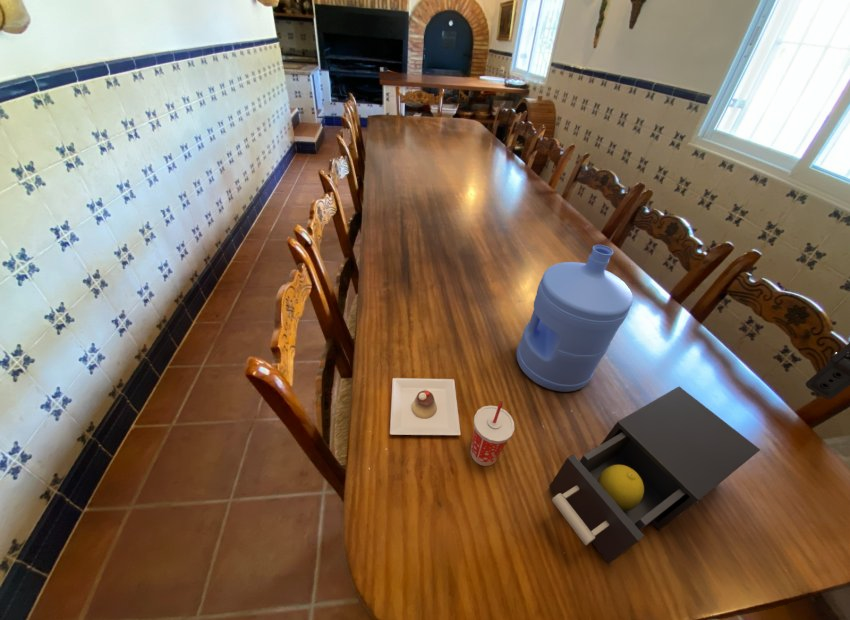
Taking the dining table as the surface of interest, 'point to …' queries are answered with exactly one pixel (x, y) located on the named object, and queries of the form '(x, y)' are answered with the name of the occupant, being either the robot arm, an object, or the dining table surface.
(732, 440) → the dark drawer cabinet
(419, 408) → the dessert
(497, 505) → the dining table surface
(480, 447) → the beverage cup
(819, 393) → the robot arm
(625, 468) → the lemon
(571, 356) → the water jug
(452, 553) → the dining table surface
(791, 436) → the dining table surface
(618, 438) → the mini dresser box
